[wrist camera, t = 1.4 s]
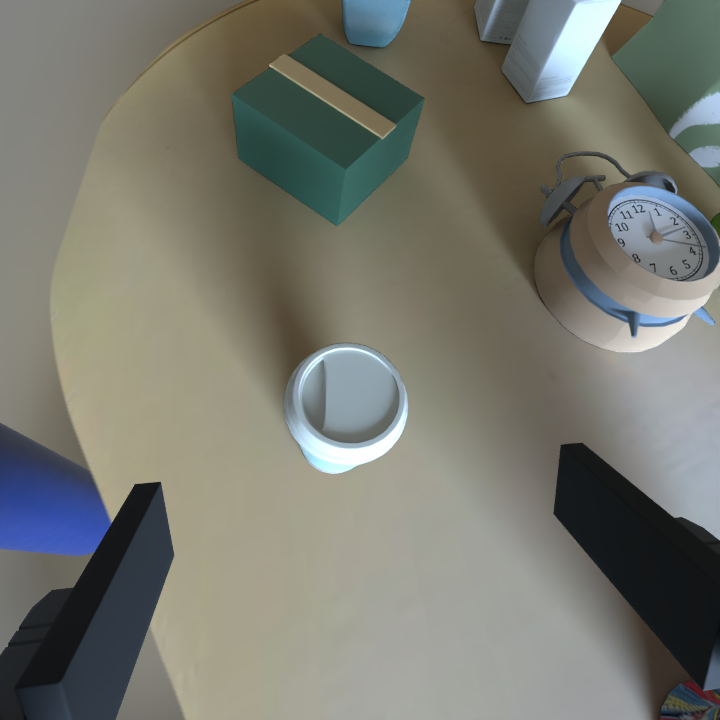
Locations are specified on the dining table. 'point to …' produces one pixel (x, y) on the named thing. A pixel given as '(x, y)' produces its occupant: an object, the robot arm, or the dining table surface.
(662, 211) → the alarm clock
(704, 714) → the vase
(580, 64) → the white packaging box
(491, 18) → the small box
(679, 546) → the robot arm
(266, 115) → the green parcel box
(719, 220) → the vegetable
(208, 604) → the dining table surface
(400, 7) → the flower pot
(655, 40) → the green gift bag
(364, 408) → the coffee cup
